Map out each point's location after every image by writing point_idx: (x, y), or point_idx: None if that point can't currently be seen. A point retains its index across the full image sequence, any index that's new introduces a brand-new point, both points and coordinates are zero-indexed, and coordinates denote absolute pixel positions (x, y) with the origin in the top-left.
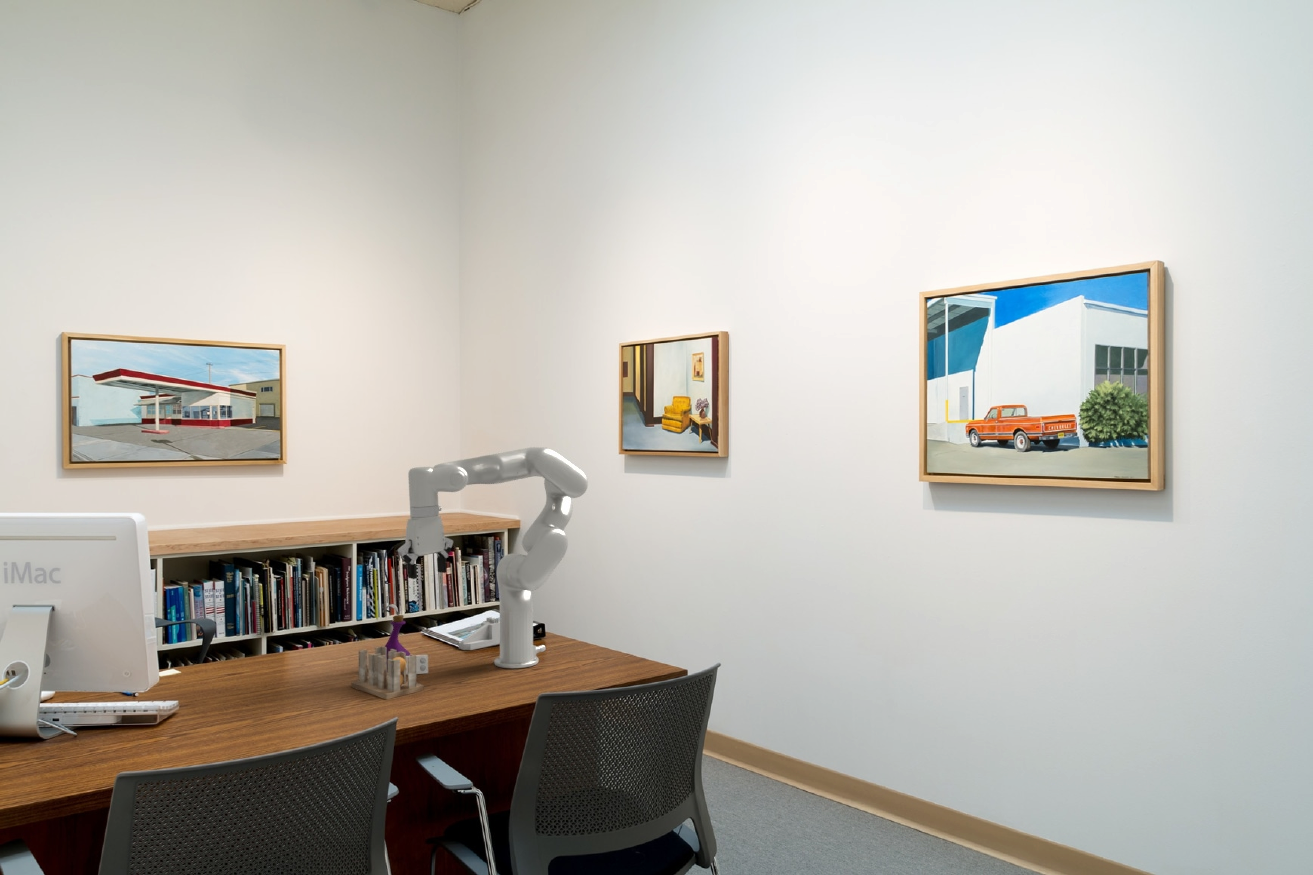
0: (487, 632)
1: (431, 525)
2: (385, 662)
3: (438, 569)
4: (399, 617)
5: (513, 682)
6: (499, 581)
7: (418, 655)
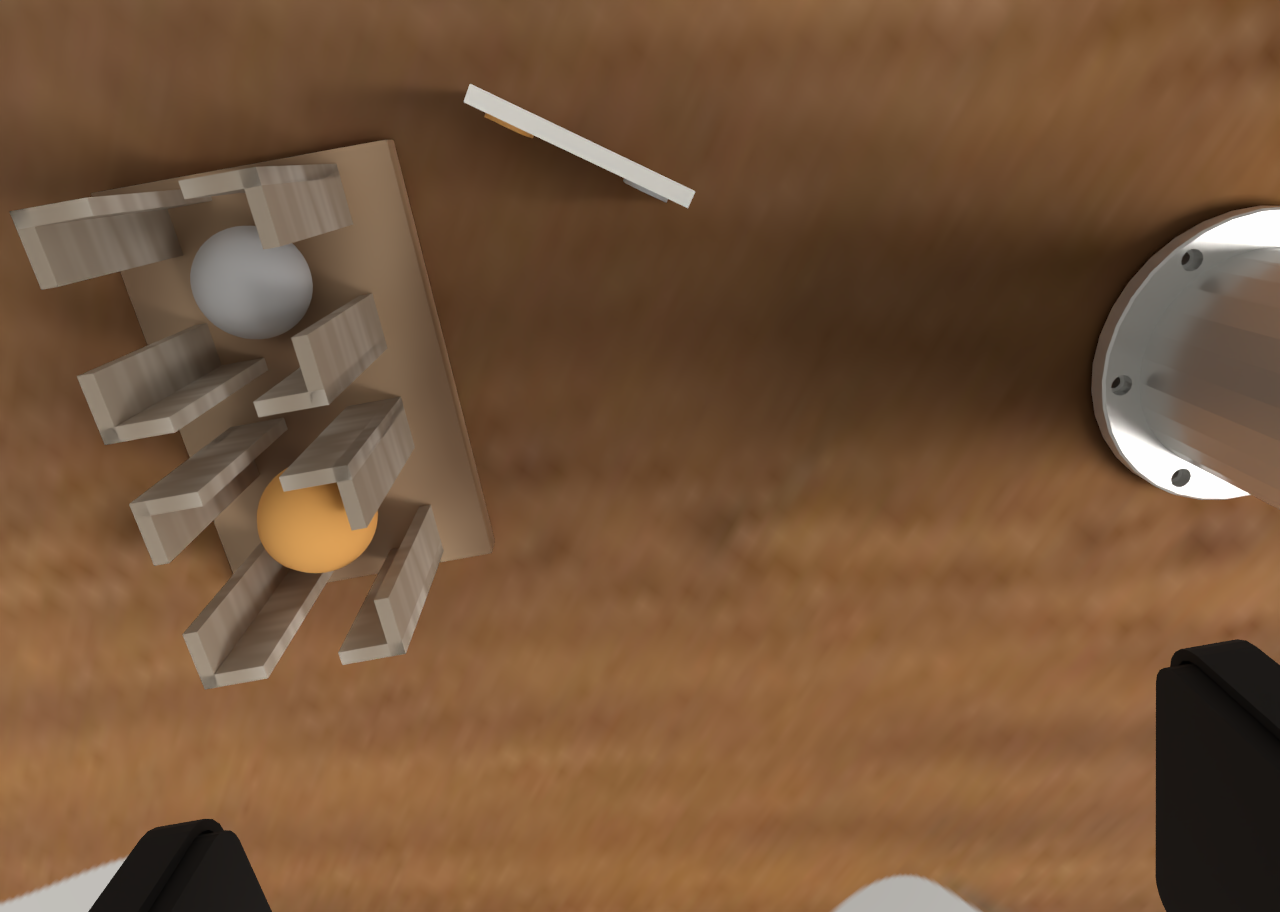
0: None
1: None
2: (223, 483)
3: (1200, 734)
4: None
5: (940, 693)
6: None
7: (623, 164)
